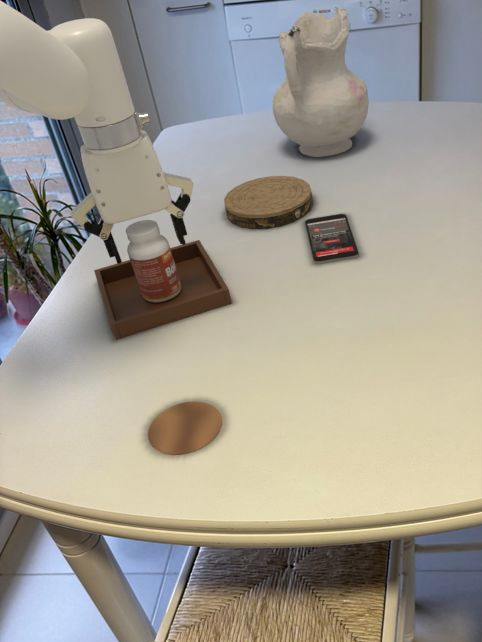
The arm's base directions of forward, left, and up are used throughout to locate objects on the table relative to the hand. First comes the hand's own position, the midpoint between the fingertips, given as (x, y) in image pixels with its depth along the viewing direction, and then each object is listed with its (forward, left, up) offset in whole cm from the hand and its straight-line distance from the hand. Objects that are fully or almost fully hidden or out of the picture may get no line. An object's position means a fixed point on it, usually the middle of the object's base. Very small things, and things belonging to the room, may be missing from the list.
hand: (150, 250), depth 96 cm
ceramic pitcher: (+43, +38, -8) cm, 58 cm away
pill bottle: (0, 0, -8) cm, 8 cm away
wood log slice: (+24, +18, -8) cm, 31 cm away
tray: (0, 0, -8) cm, 8 cm away
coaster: (-4, -32, -8) cm, 33 cm away
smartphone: (+29, +1, -8) cm, 30 cm away
